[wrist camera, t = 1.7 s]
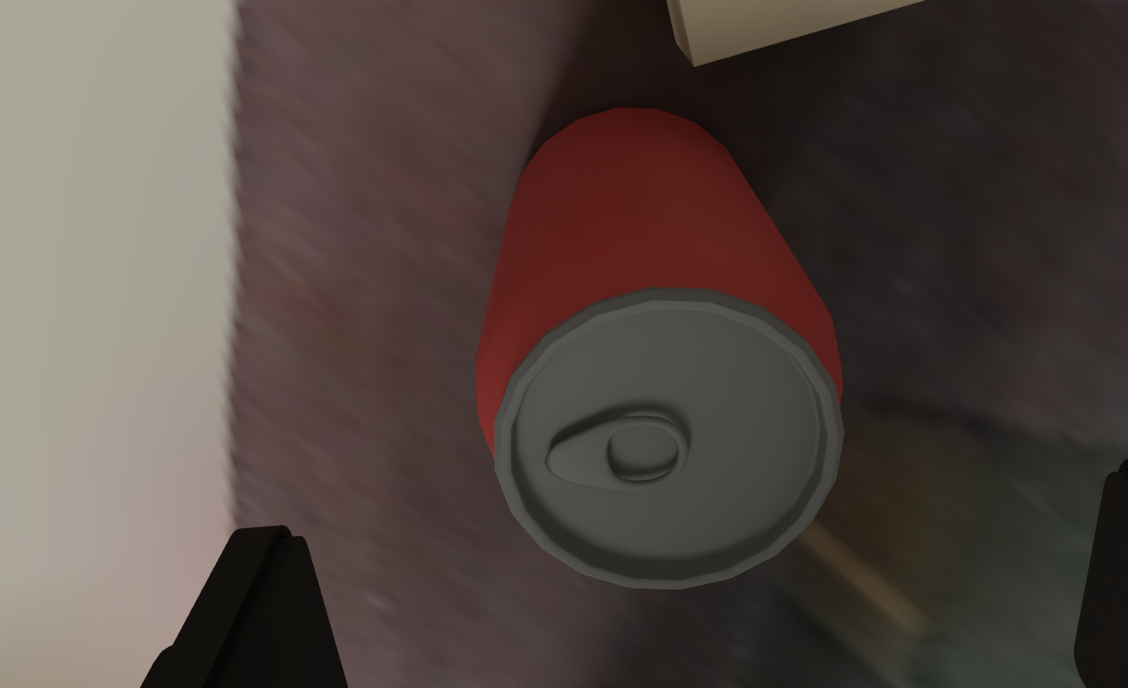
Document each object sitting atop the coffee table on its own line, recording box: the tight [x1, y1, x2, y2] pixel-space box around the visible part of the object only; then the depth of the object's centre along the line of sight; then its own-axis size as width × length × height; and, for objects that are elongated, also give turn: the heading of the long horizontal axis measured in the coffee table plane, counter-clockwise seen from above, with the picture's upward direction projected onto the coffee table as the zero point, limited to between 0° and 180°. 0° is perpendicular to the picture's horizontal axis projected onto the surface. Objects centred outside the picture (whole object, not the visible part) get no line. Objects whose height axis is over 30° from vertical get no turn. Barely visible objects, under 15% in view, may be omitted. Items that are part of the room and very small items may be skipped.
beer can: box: [476, 108, 845, 590], centre depth 20 cm, size 7×7×12 cm
